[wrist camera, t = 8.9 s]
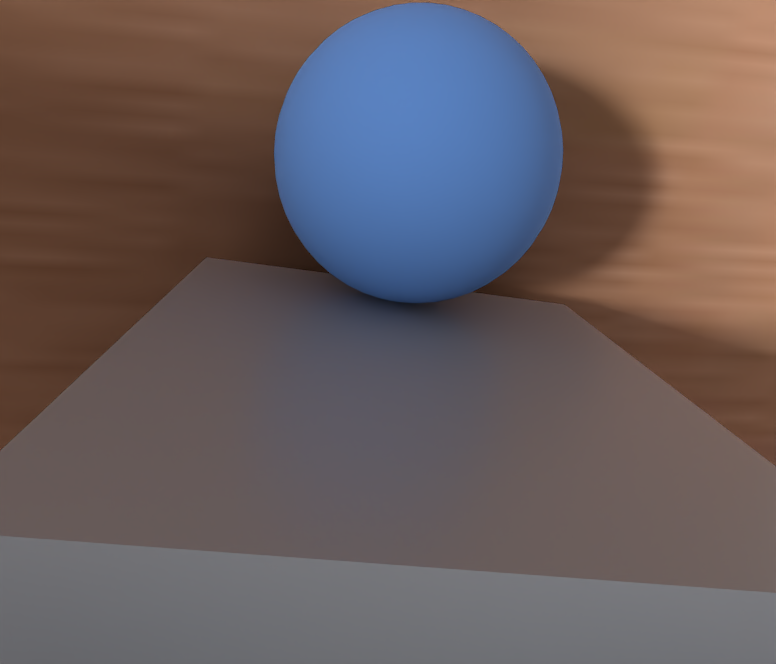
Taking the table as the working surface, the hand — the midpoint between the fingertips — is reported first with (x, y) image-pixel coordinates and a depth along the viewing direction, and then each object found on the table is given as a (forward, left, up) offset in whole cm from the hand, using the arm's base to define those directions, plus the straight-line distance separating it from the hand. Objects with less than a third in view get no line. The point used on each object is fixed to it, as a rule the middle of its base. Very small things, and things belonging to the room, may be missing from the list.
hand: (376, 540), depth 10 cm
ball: (+5, +4, -2) cm, 7 cm away
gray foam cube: (0, 0, -4) cm, 4 cm away
